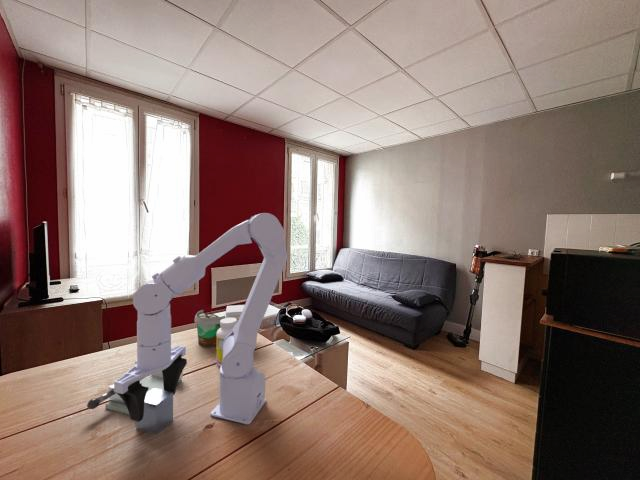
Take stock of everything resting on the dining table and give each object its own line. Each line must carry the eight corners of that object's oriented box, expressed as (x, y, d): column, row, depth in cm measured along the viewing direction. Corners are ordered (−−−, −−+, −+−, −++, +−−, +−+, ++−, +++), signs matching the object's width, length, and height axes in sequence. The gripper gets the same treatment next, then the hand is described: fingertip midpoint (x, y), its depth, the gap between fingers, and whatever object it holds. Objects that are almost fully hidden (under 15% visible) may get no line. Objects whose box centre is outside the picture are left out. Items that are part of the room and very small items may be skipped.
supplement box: (226, 340, 91) (226, 305, 90) (248, 338, 93) (248, 304, 92) (225, 350, 84) (225, 312, 83) (248, 348, 86) (249, 310, 85)
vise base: (182, 381, 67) (182, 365, 67) (135, 416, 55) (135, 397, 54) (155, 375, 69) (155, 360, 69) (104, 408, 57) (104, 389, 56)
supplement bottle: (222, 355, 80) (223, 315, 80) (243, 357, 80) (243, 316, 79) (211, 367, 74) (212, 323, 73) (234, 369, 73) (234, 325, 72)
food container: (186, 343, 88) (186, 314, 88) (202, 336, 94) (202, 309, 93) (210, 352, 82) (211, 321, 82) (226, 344, 88) (226, 315, 87)
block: (173, 420, 54) (173, 392, 54) (156, 434, 50) (156, 405, 50) (153, 414, 55) (153, 387, 55) (136, 429, 51) (135, 399, 51)
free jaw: (146, 402, 57) (145, 389, 57) (117, 423, 51) (117, 409, 51) (115, 394, 59) (115, 382, 59) (84, 413, 53) (84, 400, 53)
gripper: (167, 324, 60) (167, 381, 60) (100, 354, 46) (101, 427, 46) (193, 328, 58) (193, 387, 59) (131, 360, 44) (132, 437, 45)
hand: (154, 405), depth 52 cm, fingers open, 7 cm apart
